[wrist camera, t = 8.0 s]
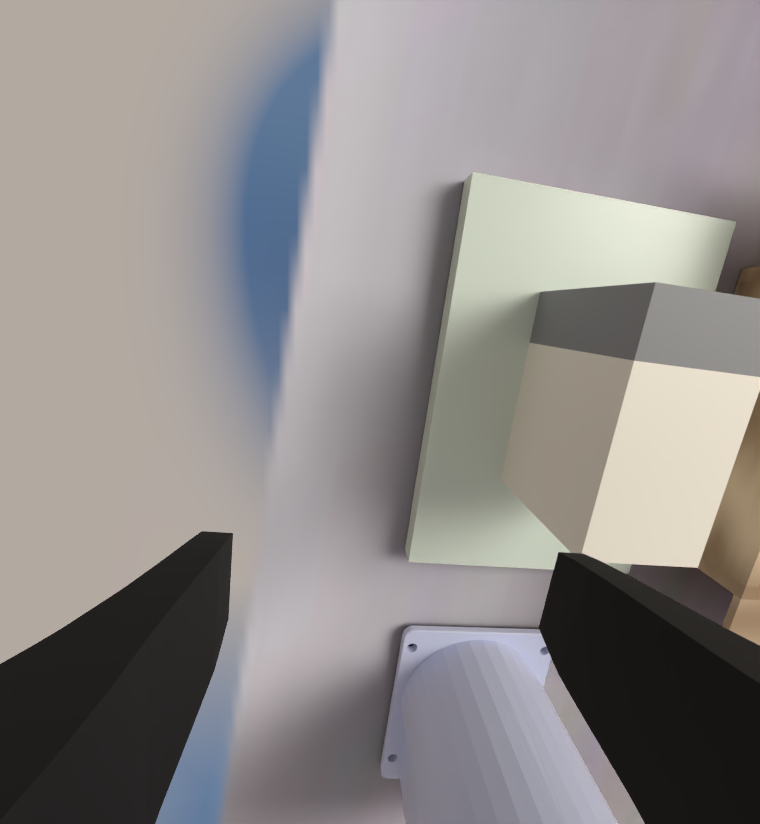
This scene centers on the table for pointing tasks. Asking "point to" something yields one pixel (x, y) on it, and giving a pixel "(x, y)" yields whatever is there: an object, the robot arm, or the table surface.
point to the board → (524, 346)
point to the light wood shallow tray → (740, 518)
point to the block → (633, 417)
